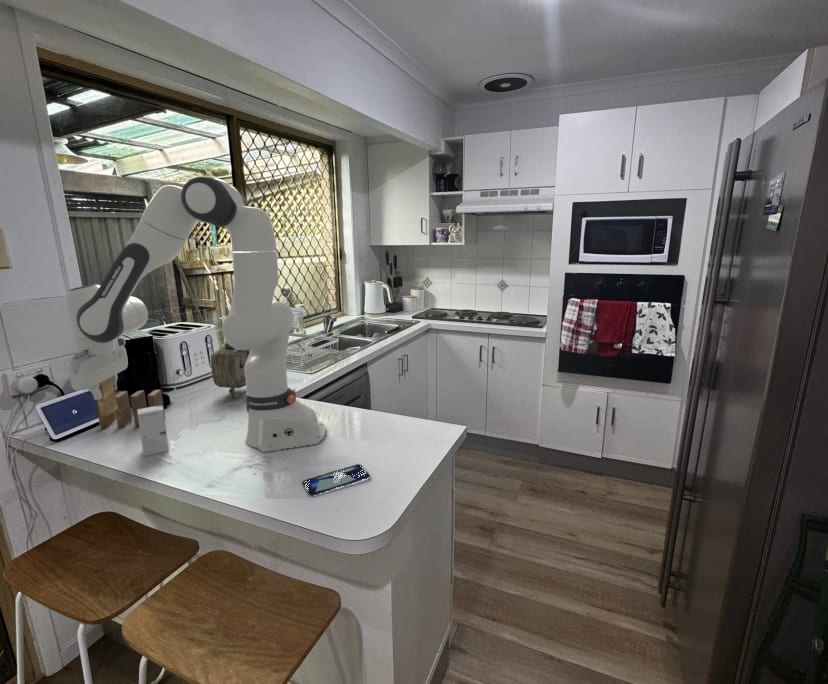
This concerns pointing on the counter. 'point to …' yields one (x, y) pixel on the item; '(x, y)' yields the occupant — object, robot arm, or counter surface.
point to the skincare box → (152, 430)
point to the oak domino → (107, 398)
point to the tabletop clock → (229, 367)
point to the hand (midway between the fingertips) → (106, 394)
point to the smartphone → (326, 480)
